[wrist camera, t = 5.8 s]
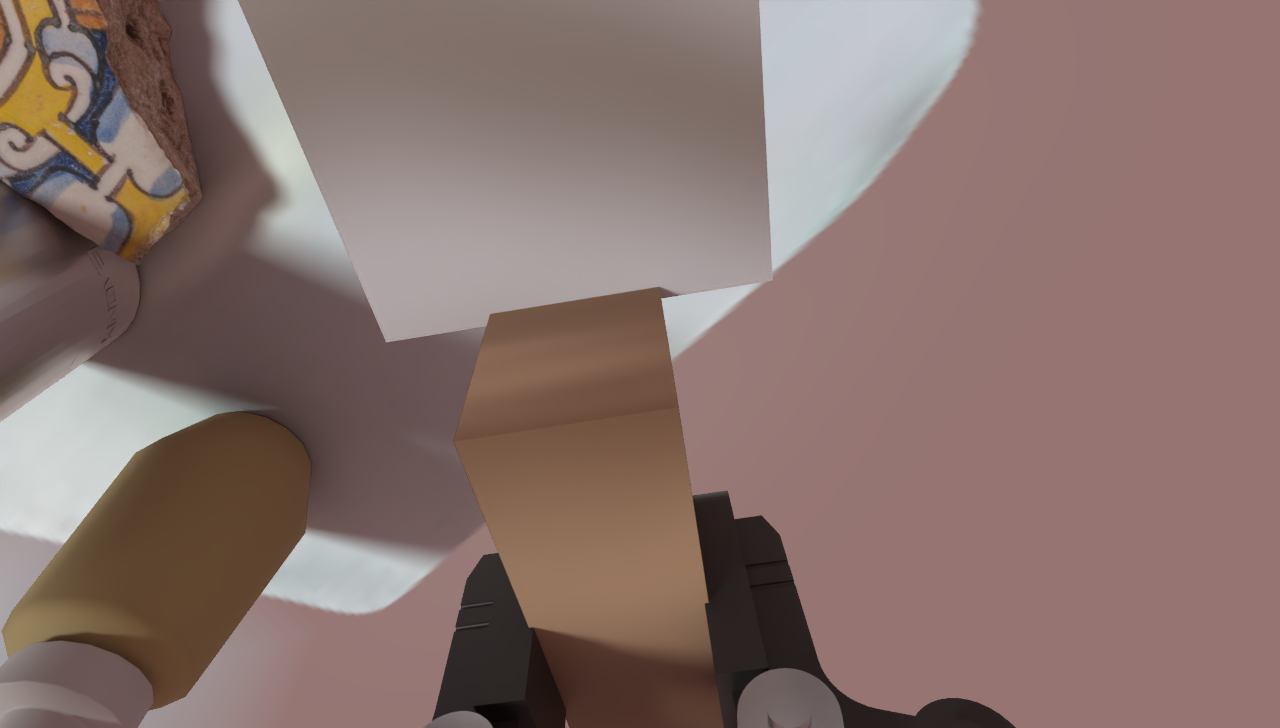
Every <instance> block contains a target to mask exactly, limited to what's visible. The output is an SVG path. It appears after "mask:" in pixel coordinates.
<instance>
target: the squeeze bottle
mask: <svg viewBox="0 0 1280 728" xmlns="http://www.w3.org/2000/svg"><path fill="white" fill-rule="evenodd" d="M310 471H311V461H310V459H309V456H308V454H307V452H306V450H305V447H304V445H303V444H302V443H301V442H300V441H299V440H298V439H297V438H296V437H295V436H294V435H293V434H292V433H291V432H290V431H289V430H288V429H287V428H285V427H283V426H281V425H280V424H278V423H276V422H274V421H272V420H270V419H268V418H266V417H263V416H258V415H253V414H249V413H244V412H233V413H224V414H216V415H214V416H212V417H210V418H207V419H205V420H203V421H200V422H198V423H196V424H194V425H191V426H189V427H187V428H184V429H182V430H180V431H178V432H175V433H173V434H171V435H168V436H166V437H164V438H162V439H160V440H158V441H156V442H154V443H153V444H151V445H149V446H147V447H145V448H144V449H142V450H140V451H138V452H136V453H135V455H134V456H133V457H132V458H131V460H130V461H129V462H128V463H127V465H126V466H125V467H124V469H123V470H122V471H121V472H120V474H119V475H118V476H117V478H116V479H115V480H114V481H113V483H112V484H111V485H110V486H109V488H108V489H107V490H106V492H105V493H104V494H103V495H102V497H101V498H100V499H99V500H98V502H97V503H96V504H95V506H94V507H93V508H92V509H91V511H90V512H89V513H88V515H87V516H86V517H85V518H84V520H83V521H82V522H81V523H80V525H79V526H78V527H77V529H76V530H75V531H74V532H73V534H72V535H71V536H70V538H69V539H68V540H67V541H66V543H65V544H64V545H63V546H62V548H61V549H60V550H59V552H58V553H57V554H56V555H55V557H54V558H53V559H52V561H51V562H50V563H49V564H48V566H47V567H46V568H45V570H44V571H43V572H42V574H41V575H40V576H39V577H38V578H37V580H36V581H35V582H34V584H33V585H32V586H31V587H30V589H29V590H28V591H27V593H26V594H25V595H24V596H23V598H22V599H21V600H20V601H19V603H18V604H17V605H16V607H15V608H14V609H13V611H12V612H11V614H10V616H9V618H8V620H7V622H6V624H5V625H4V627H3V629H2V634H3V638H4V642H5V646H6V650H7V654H8V656H9V658H8V660H7V661H6V662H5V663H4V664H3V665H2V666H1V667H0V728H137V727H138V726H139V724H140V723H141V721H142V720H143V718H144V716H145V715H146V713H147V712H148V711H149V710H153V709H157V708H161V707H163V706H165V705H168V704H170V703H172V702H174V701H177V700H179V699H181V698H184V697H185V696H186V695H187V694H188V692H189V691H190V690H191V688H192V687H193V686H194V685H195V683H196V682H197V681H198V679H199V678H200V676H201V675H202V673H203V672H204V671H205V670H206V668H207V667H208V665H209V664H210V663H211V661H212V660H213V659H214V657H215V656H216V655H217V653H218V652H219V650H220V649H221V648H222V646H223V645H224V644H225V642H226V641H227V639H228V638H229V637H230V635H231V634H232V632H233V631H234V630H235V628H236V627H237V626H238V624H239V623H240V622H241V620H242V619H243V617H244V616H245V615H246V613H247V612H248V611H249V609H250V608H251V607H252V605H253V604H254V602H255V601H256V600H257V598H258V597H259V596H260V594H261V593H262V591H263V590H264V589H265V587H266V586H267V585H268V583H269V582H270V580H271V579H272V578H273V576H274V575H275V574H276V572H277V571H278V569H279V568H280V567H281V565H282V564H283V563H284V561H285V560H286V558H287V557H288V556H289V554H290V553H291V552H292V550H293V549H294V547H295V546H296V545H297V543H298V542H299V541H300V539H301V538H302V536H303V535H304V534H305V529H306V518H307V507H308V495H309V484H310Z"/></svg>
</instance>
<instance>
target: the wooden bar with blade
mask: <svg viewBox="0 0 1280 728" xmlns="http://www.w3.org/2000/svg"><path fill="white" fill-rule="evenodd" d="M238 1H239V4H240V6H241V8H242V11H243V13H244V15H245V17H246V20H247V22H248V24H249V27H250V29H251V31H252V34H253V36H254V38H255V41H256V43H257V45H258V47H259V50H260V52H261V54H262V57H263V59H264V61H265V64H266V66H267V68H268V71H269V73H270V75H271V78H272V80H273V82H274V84H275V87H276V89H277V91H278V94H279V96H280V98H281V101H282V103H283V105H284V108H285V110H286V112H287V114H288V117H289V119H290V121H291V124H292V126H293V128H294V131H295V133H296V135H297V138H298V140H299V142H300V144H301V147H302V149H303V151H304V154H305V156H306V158H307V161H308V163H309V165H310V168H311V170H312V172H313V174H314V177H315V179H316V181H317V184H318V186H319V188H320V191H321V193H322V195H323V198H324V200H325V202H326V205H327V207H328V209H329V211H330V214H331V216H332V218H333V221H334V223H335V225H336V228H337V230H338V232H339V235H340V237H341V239H342V241H343V244H344V246H345V248H346V251H347V253H348V255H349V258H350V260H351V262H352V265H353V267H354V269H355V271H356V274H357V276H358V278H359V281H360V283H361V285H362V288H363V290H364V292H365V295H366V297H367V299H368V302H369V304H370V306H371V308H372V311H373V313H374V315H375V318H376V320H377V322H378V325H379V327H380V329H381V332H382V334H383V336H384V338H385V341H386V342H392V341H398V340H405V339H411V338H417V337H423V336H430V335H436V334H442V333H448V332H454V331H461V330H467V329H473V328H479V327H486V330H485V333H484V337H483V340H482V344H481V347H480V351H479V354H478V358H477V361H476V365H475V368H474V372H473V375H472V379H471V382H470V386H469V389H468V392H467V396H466V399H465V403H464V406H463V410H462V413H461V417H460V420H459V424H458V427H457V431H456V434H455V438H454V441H453V442H454V445H455V447H456V450H457V452H458V454H459V457H460V459H461V462H462V464H463V467H464V469H465V472H466V474H467V477H468V479H469V481H470V484H471V486H472V489H473V491H474V494H475V496H476V499H477V501H478V504H479V506H480V509H481V511H482V513H483V516H484V518H485V521H486V523H487V526H488V528H489V531H490V533H491V536H492V538H493V540H494V543H495V545H496V548H497V550H498V553H499V555H500V558H501V560H502V563H503V565H504V568H505V570H506V572H507V575H508V577H509V580H510V582H511V585H512V587H513V590H514V592H515V595H516V597H517V600H518V602H519V604H520V607H521V609H522V612H523V614H524V617H525V619H526V622H527V624H528V627H529V628H531V627H534V630H535V632H536V635H537V637H538V640H539V642H540V645H541V647H542V650H543V652H544V655H545V657H546V660H547V662H548V665H549V668H550V670H551V673H552V675H553V678H554V680H555V683H556V685H557V688H558V690H559V693H560V695H561V698H562V700H563V703H564V705H565V708H566V720H567V722H568V725H569V727H570V728H724V727H723V720H722V714H721V708H720V701H719V695H718V689H717V682H716V676H715V669H714V663H713V656H712V649H711V643H710V636H709V630H708V623H707V616H706V610H705V603H709V601H708V595H707V588H706V582H705V575H704V569H703V562H702V556H701V549H700V543H699V536H698V530H697V523H696V517H695V510H694V504H693V497H692V491H691V484H690V479H689V471H688V465H687V458H686V452H685V446H684V439H683V432H682V426H681V419H680V413H679V407H678V400H677V394H676V388H675V382H674V375H673V369H672V363H671V357H670V351H669V344H668V338H667V332H666V326H665V320H664V314H663V307H662V301H661V298H666V297H672V296H678V295H685V294H691V293H697V292H703V291H710V290H716V289H722V288H728V287H734V286H741V285H747V284H753V283H759V282H766V281H771V280H772V261H771V241H770V220H769V199H768V179H767V158H766V137H765V117H764V96H763V75H762V55H761V34H760V13H759V0H238Z"/></svg>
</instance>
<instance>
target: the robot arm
mask: <svg viewBox="0 0 1280 728" xmlns="http://www.w3.org/2000/svg"><path fill="white" fill-rule="evenodd" d="M139 301H140V281H139V277H138V272H137V268H136V264H135V263H132V262H130V261H128V260H126V259H124V258H123V257H120V256H117V255H115V254H114V253H112V252H110V251H108V250H106V249H103V248H101V247H100V246H98V245H97V244H96V243H95V242H93V241H92V240H90V239H88V238H86V237H84V236H83V235H81V234H79V233H78V232H76V231H74V230H73V229H72V228H70V227H69V226H68V225H66V224H65V223H64V222H62V221H61V220H59V219H58V218H56V217H55V216H54V215H53V214H52V213H51V212H50V211H48V210H47V209H46V208H45V207H43V206H42V205H40V204H38V203H37V202H35V201H33V200H31V199H28V198H26V197H24V196H22V195H20V194H19V193H17V192H16V191H15V190H13V189H12V188H11V187H10V186H9V185H7V184H6V183H5V182H3V181H2V180H1V179H0V422H1V421H3V420H4V419H5V418H7V417H8V416H10V415H11V414H12V413H14V412H15V411H16V410H18V409H19V408H21V407H22V406H23V405H25V404H26V403H28V402H29V401H30V400H32V399H33V398H35V397H36V396H37V395H39V394H40V393H42V392H43V391H44V390H46V389H47V388H49V387H50V386H51V385H53V384H54V383H56V382H57V381H59V380H60V379H61V378H63V377H64V376H66V375H67V374H68V373H70V372H71V371H72V370H74V369H75V368H77V367H78V366H79V365H81V364H82V363H84V362H85V361H86V360H88V359H89V358H90V357H92V356H93V355H95V354H96V353H97V352H99V351H100V350H101V349H103V348H104V347H106V346H107V345H108V344H110V343H111V342H112V341H114V340H115V339H116V338H118V337H119V336H120V335H121V334H123V333H124V332H125V331H126V329H127V328H128V327H129V325H130V324H131V322H132V321H133V319H134V318H135V315H136V311H137V308H138V305H139ZM692 497H693V504H694V510H695V517H696V523H697V530H698V536H699V543H700V549H701V556H702V562H703V569H704V575H705V582H706V588H707V595H708V601H709V603H705V610H706V616H707V623H708V630H709V636H710V643H711V649H712V656H713V663H714V669H715V676H716V682H717V689H718V695H719V701H720V708H721V714H722V720H723V727H724V728H1015V727H1014V726H1013V725H1012V724H1011V723H1010V722H1009V721H1008V720H1006V719H1005V718H1004V717H1003V716H1001V715H1000V714H999V713H997V712H995V711H994V710H992V709H990V708H989V707H986V706H984V705H982V704H980V703H977V702H973V701H970V700H965V699H960V698H947V699H940V700H937V701H934V702H931V703H930V704H928V705H926V706H924V707H923V708H922V709H921V710H920V711H919V712H918V713H917V715H916V716H912V715H906V714H901V713H896V712H891V711H886V710H880V709H875V708H872V707H868V706H865V705H863V704H860V703H858V702H856V701H854V700H852V699H850V698H849V697H847V696H846V695H844V694H843V693H842V692H840V691H839V690H838V689H837V688H836V687H835V686H834V685H833V684H832V683H831V682H830V681H829V679H828V678H827V677H826V675H825V674H824V672H823V670H822V668H821V666H820V663H819V661H818V658H817V655H816V651H815V648H814V645H813V641H812V638H811V635H810V632H809V629H808V625H807V622H806V619H805V615H804V612H803V609H802V606H801V602H800V599H799V596H798V593H797V589H796V586H795V585H794V580H793V576H792V573H791V570H790V567H789V565H788V561H787V557H786V554H785V551H784V548H783V544H782V541H781V537H780V535H779V534H778V533H777V531H776V530H775V529H774V528H773V527H772V526H771V525H770V524H769V523H768V522H767V521H766V520H765V519H764V518H763V517H762V516H755V517H748V518H741V519H734V516H733V511H732V507H731V503H730V498H729V494H728V491H722V492H715V493H708V494H701V495H694V496H692ZM565 720H566V708H565V705H564V703H563V700H562V698H561V695H560V693H559V690H558V688H557V685H556V683H555V680H554V678H553V675H552V673H551V670H550V668H549V665H548V662H547V660H546V657H545V655H544V652H543V650H542V647H541V645H540V642H539V640H538V637H537V635H536V632H535V630H534V627H531V628H529V627H528V624H527V622H526V619H525V617H524V614H523V612H522V609H521V607H520V604H519V602H518V600H517V597H516V595H515V592H514V590H513V587H512V585H511V582H510V580H509V577H508V575H507V572H506V570H505V568H504V565H503V563H502V560H501V558H500V555H499V553H495V554H488V555H483V557H482V558H481V560H480V561H479V563H478V564H477V565H476V567H475V568H474V570H473V571H472V573H471V574H470V575H469V577H468V578H467V581H466V585H465V589H464V593H463V597H462V602H461V610H459V614H458V618H457V623H456V632H454V635H453V639H452V643H451V647H450V651H449V656H448V660H447V664H446V668H445V672H444V676H443V680H442V685H441V689H440V693H439V697H438V701H437V705H436V710H435V713H434V716H433V719H432V722H430V723H429V724H427V725H426V726H425V727H424V728H565Z"/></svg>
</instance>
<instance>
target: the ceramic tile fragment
mask: <svg viewBox="0 0 1280 728" xmlns="http://www.w3.org/2000/svg"><path fill="white" fill-rule="evenodd" d="M171 35H172V31H171V27H170V25H169V24H168V23H167V21H166V20H165V18H164V16H163V15H162V13H161V11H160V9H159V5H158V2H157V0H0V179H1V180H2V181H3V182H5V183H6V184H7V185H9V186H10V187H11V188H12V189H13V190H15V191H16V192H17V193H19V194H20V195H22V196H24V197H26V198H28V199H31V200H33V201H35V202H37V203H38V204H40V205H42V206H43V207H45V208H46V209H47V210H48V211H50V212H51V213H52V214H53V215H54V216H55V217H56V218H58V219H59V220H61V221H62V222H64V223H65V224H66V225H68V226H69V227H70V228H72V229H73V230H74V231H76V232H78V233H79V234H81V235H83V236H84V237H86V238H88V239H90V240H92V241H93V242H95V243H96V244H97V245H98V246H100V247H101V248H103V249H106V250H108V251H110V252H112V253H114V254H115V255H117V256H120V257H123V258H124V259H126V260H128V261H130V262H132V263H135V264H136V265H139V264H140V260H139V258H142V257H143V255H144V254H148V251H149V250H150V249H152V246H153V245H154V243H156V242H157V241H158V240H159V239H160V238H162V236H163V235H165V234H167V233H168V232H170V231H171V230H172V229H174V228H175V227H176V226H177V225H179V224H180V223H181V222H182V221H183V220H184V219H186V218H187V217H188V215H189V214H190V213H191V212H192V210H193V209H194V208H195V207H196V206H197V205H198V204H199V203H200V201H201V200H202V199H203V196H202V192H201V187H200V182H199V178H198V174H197V166H196V162H195V158H194V154H193V149H192V142H191V139H190V136H189V132H188V125H187V118H186V114H185V111H184V102H183V98H182V94H181V91H180V89H179V87H178V85H177V84H176V82H175V80H174V79H173V70H172V65H171V62H170V57H169V50H168V40H169V38H170V36H171Z"/></svg>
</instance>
